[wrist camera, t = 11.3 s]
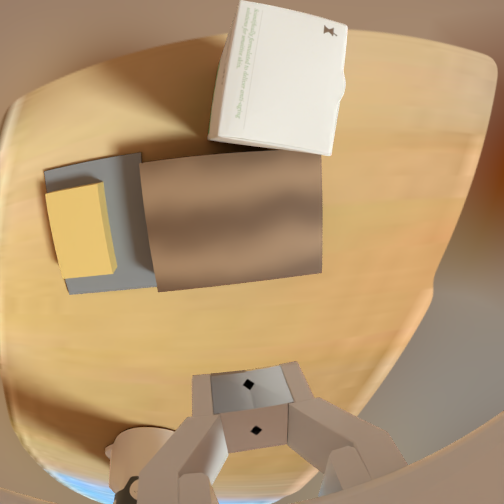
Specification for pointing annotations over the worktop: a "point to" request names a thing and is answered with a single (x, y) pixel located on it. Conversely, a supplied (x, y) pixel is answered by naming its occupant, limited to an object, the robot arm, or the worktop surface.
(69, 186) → the mat
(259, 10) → the skincare box
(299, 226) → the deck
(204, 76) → the worktop surface
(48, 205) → the yellow rectangular block
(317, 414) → the robot arm
